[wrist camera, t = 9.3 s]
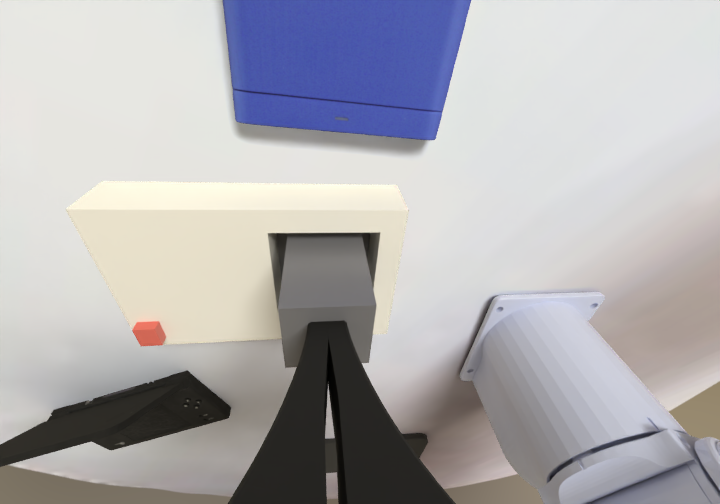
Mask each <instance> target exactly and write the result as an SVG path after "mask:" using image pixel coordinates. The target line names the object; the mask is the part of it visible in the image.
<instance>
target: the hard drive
mask: <svg viewBox="0 0 720 504" xmlns="http://www.w3.org/2000/svg"><path fill="white" fill-rule="evenodd" d="M470 3H471V0H223V7H224V15H225V24H226V34H227V42H228V51H229V61H230V70H231V79H232V87H233V100H234V109H235V119H236V121H237V122H240V123H245V124H254V125H264V126H274V127H287V128H298V129H309V130H320V131H332V132H343V133H355V134H366V135H376V136H387V137H399V138H409V139H420V140H435V139H436V135H437V131H438V128H439V124H440V120H441V116H442V111H443V108H444V104H445V100H446V96H447V92H448V88H449V84H450V80H451V77H452V73H453V68H454V64H455V61H456V57H457V53H458V50H459V46H460V42H461V38H462V34H463V30H464V26H465V22H466V17H467V14H468V10H469V6H470Z"/></svg>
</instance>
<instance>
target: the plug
mask: <svg viewBox="0 0 720 504" xmlns="http://www.w3.org/2000/svg"><path fill="white" fill-rule="evenodd" d="M376 306H377V305H376V300H375V295H374V290H373V286H372V281H371V276H370V271H369V267H368V262H367V257H366V252H365V248H364V243H363V238H362V234H361V233H288V235H287V243H286V251H285V258H284V266H283V274H282V282H281V290H280V297H279V305H278V313H279V321H280V328H281V336H282V344H283V352H284V360H285V368H286V367H297V366H298V363H299V360H300V357H301V354H302V350H303V347H304V343H305V339H306V334H307V328H308V324H309V323H310V322H320V321H343V320H344V321H345V322H347V326H348V329H349V333H350V336H351V339H352V342H353V344H354V347H355V349H356V352H357V354H358V357H359V359H360V361H361V363H369V357H370V349H371V342H372V335H373V328H374V321H375V313H376Z"/></svg>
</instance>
